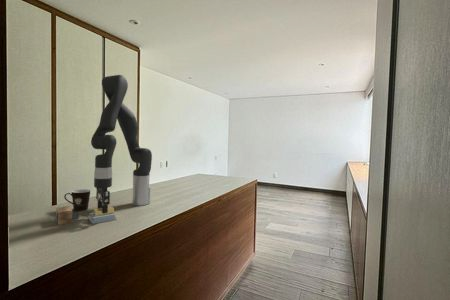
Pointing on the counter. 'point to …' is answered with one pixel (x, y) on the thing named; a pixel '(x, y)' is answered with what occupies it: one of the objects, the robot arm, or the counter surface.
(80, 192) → the coffee mug
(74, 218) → the drift
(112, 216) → the cradle
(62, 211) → the brown wooden block
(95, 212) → the yellow rectangular block
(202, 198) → the counter surface
